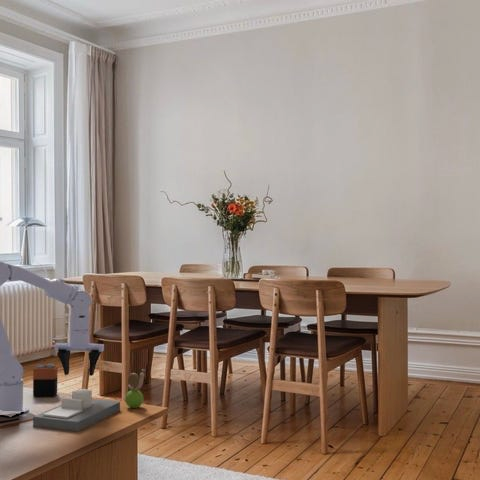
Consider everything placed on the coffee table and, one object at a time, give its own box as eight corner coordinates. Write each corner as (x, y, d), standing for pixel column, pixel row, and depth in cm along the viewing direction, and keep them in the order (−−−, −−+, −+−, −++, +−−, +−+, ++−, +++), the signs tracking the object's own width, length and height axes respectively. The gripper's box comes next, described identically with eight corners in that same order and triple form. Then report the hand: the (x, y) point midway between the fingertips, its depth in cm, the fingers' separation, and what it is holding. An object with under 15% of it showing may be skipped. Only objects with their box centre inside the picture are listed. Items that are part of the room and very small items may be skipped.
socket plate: (33, 425, 171) (33, 416, 171) (78, 405, 191) (78, 397, 191) (77, 431, 166) (78, 421, 166) (119, 410, 187) (120, 401, 187)
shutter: (42, 415, 171) (43, 405, 171) (61, 407, 179) (61, 397, 179) (67, 418, 169) (67, 407, 169) (85, 410, 177) (85, 400, 177)
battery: (54, 397, 202) (54, 365, 202) (32, 397, 201) (33, 365, 201) (57, 393, 206) (57, 363, 206) (36, 393, 206) (36, 363, 206)
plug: (79, 412, 185) (80, 388, 185) (91, 413, 183) (91, 389, 183) (71, 415, 181) (72, 391, 181) (83, 417, 180) (84, 393, 180)
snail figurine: (137, 411, 186) (138, 370, 186) (121, 408, 189) (121, 368, 189) (149, 407, 190) (150, 367, 190) (133, 404, 194) (133, 365, 194)
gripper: (51, 331, 188) (50, 376, 188) (99, 332, 187) (99, 378, 187) (59, 327, 195) (59, 371, 195) (106, 328, 194) (105, 373, 194)
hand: (79, 374), depth 191 cm, fingers open, 7 cm apart
